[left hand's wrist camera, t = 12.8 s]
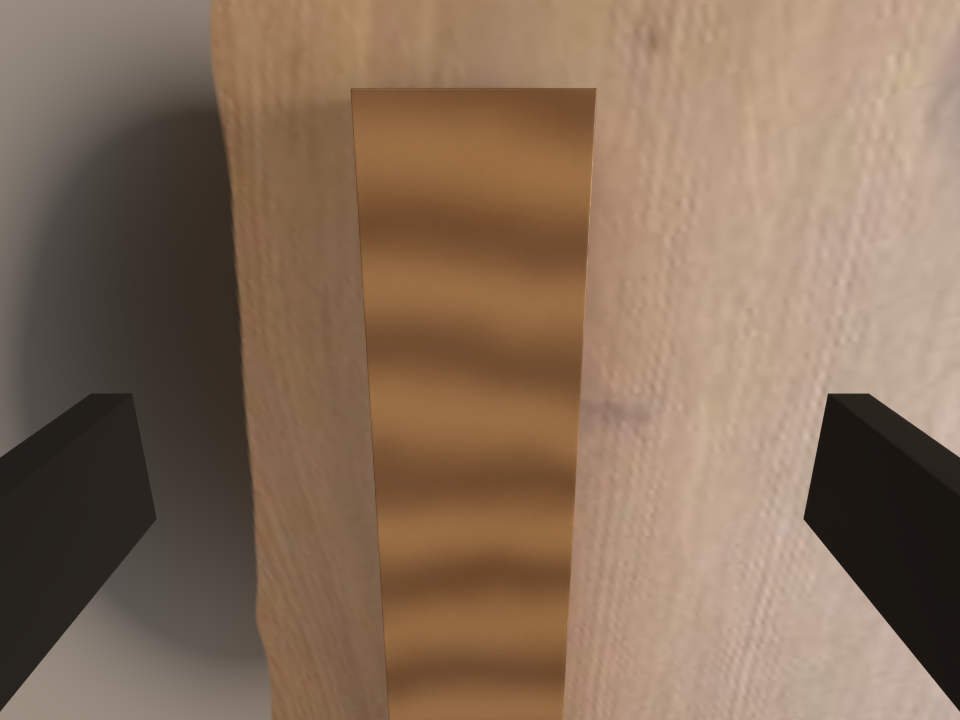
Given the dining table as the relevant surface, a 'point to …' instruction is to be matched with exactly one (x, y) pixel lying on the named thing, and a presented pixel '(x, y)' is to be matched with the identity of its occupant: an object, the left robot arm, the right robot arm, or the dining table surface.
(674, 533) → the dining table surface
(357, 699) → the dining table surface
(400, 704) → the thick board
